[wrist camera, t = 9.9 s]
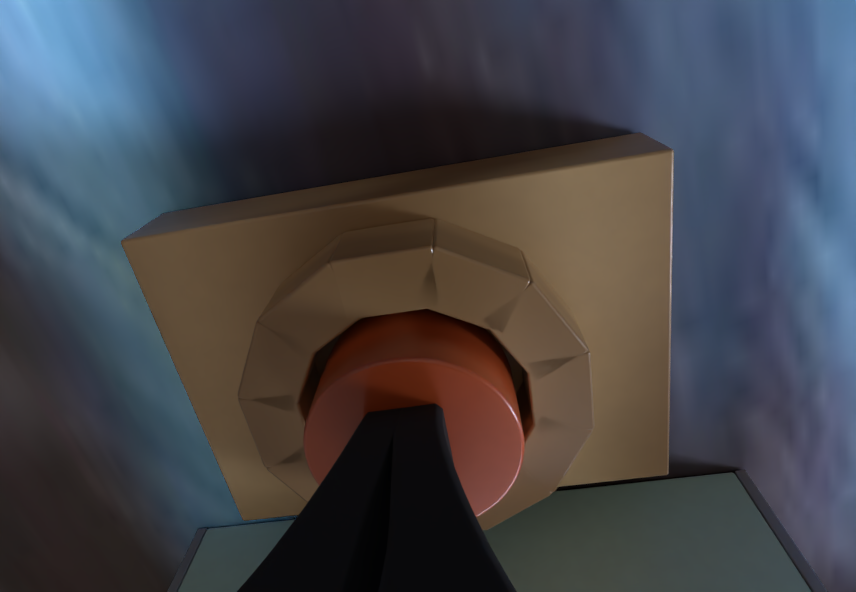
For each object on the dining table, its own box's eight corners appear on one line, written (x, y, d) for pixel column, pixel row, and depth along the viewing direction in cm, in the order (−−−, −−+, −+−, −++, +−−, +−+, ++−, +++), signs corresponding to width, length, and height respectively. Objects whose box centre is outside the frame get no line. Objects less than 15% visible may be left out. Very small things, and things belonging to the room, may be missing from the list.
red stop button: (501, 289, 11) (512, 343, 9) (521, 448, 12) (535, 522, 11) (302, 318, 11) (274, 375, 9) (349, 468, 13) (332, 542, 11)
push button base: (642, 131, 12) (713, 168, 9) (644, 426, 15) (696, 529, 12) (160, 212, 13) (69, 271, 10) (263, 470, 16) (219, 576, 13)
